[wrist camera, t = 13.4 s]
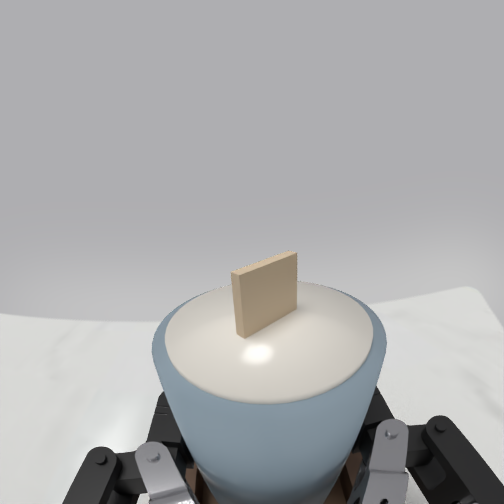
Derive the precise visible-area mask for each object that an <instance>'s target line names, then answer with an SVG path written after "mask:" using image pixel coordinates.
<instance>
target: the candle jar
mask: <svg viewBox="0 0 504 504" xmlns="http://www.w3.org/2000/svg"><path fill="white" fill-rule="evenodd" d="M231 281H232V285H228V286H225V287H221V288H218V289H215V290H212V291H209V292H205V293H203V294H200V295H198V296H196V297H194V298H192V299H190V300H188V301H186V302H184V303H183V304H181V305H180V306H178V307H177V308H176V309H174V310H173V311H172V312H170V313H169V315H167V316H166V317H165V318H164V320H163V321H162V322H161V324H160V325H159V326H158V328H157V330H156V332H155V334H154V338H153V342H152V356H153V361H154V364H155V367H156V370H157V373H158V376H159V379H160V382H161V384H162V387H163V390H164V393H165V395H166V398H167V400H168V403H169V405H170V408H171V410H172V413H173V415H174V418H175V420H176V422H177V425H178V427H179V429H180V432H181V434H182V436H183V438H184V441H185V443H186V445H187V447H188V449H189V451H190V453H191V455H192V457H193V459H194V461H195V463H196V465H197V467H198V469H199V471H200V473H201V475H202V477H203V479H204V480H205V482H206V484H207V486H208V488H209V489H210V491H211V493H212V495H213V496H214V498H215V500H216V501H217V503H218V504H324V502H325V501H326V499H327V497H328V496H329V494H330V492H331V490H332V488H333V487H334V485H335V483H336V481H337V479H338V477H339V475H340V473H341V471H342V469H343V467H344V465H345V463H346V461H347V459H348V457H349V454H350V452H351V450H352V448H353V446H354V443H355V441H356V439H357V436H358V434H359V431H360V429H361V426H362V424H363V421H364V419H365V416H366V413H367V411H368V408H369V405H370V402H371V399H372V396H373V393H374V390H375V387H376V384H377V381H378V378H379V374H380V371H381V368H382V364H383V361H384V357H385V353H386V346H387V341H386V333H385V330H384V327H383V325H382V323H381V321H380V319H379V318H378V317H377V315H376V314H375V313H374V312H373V311H372V310H371V309H370V308H369V307H368V306H367V305H365V304H364V303H363V302H361V301H360V300H358V299H356V298H355V297H353V296H351V295H349V294H346V293H344V292H342V291H339V290H336V289H333V288H330V287H326V286H322V285H318V284H313V283H308V282H301V281H297V253H296V252H292V251H287V252H284V253H281V254H278V255H276V256H273V257H270V258H267V259H265V260H262V261H259V262H257V263H254V264H251V265H249V266H246V267H243V268H240V269H237V270H235V271H232V272H231Z"/></svg>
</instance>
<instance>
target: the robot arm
mask: <svg viewBox="0 0 504 504" xmlns="http://www.w3.org/2000/svg"><path fill="white" fill-rule="evenodd" d="M154 413H155V414H154V416H153V419H152V423H151V427H150V430H149V434H148V438H147V441H146V443H144V444H142V445H141V446H139V447H138V449H137V450H136V451H133V452H126V453H114V452H113V451H112V450H111V449H109V448H107V447H96V448H93V449H92V450H90V451H89V452H88V454H87V456H86V458H85V460H84V461H83V463H82V465H81V467H80V469H79V471H78V473H77V475H76V477H75V479H74V481H73V483H72V485H71V487H70V489H69V491H68V493H67V495H66V497H65V499H64V501H63V503H62V504H137V501H138V498H139V495H140V494H142V493H148V494H149V497H150V500H149V504H200V503H199V501H198V499H197V498H196V496H195V494H194V492H193V491H192V489H191V487H190V485H189V483H188V481H187V480H186V478H185V475H186V468H188V469H194V459H193V457H192V455H191V453H190V451H189V449H188V447H187V445H186V443H185V441H184V438H183V436H182V434H181V432H180V429H179V427H178V425H177V422H176V420H175V418H174V415H173V413H172V410H171V408H170V405H169V403H168V400H167V398H166V395H165V393H164V391H163V392H162V394H161V395H160V396H159V398H158V402H157V407H156V409H155V412H154ZM351 451H352V454H354V453H358V452H360V453H361V455H362V459H361V461H360V465H359V469H358V472H357V476H356V479H355V483H354V486H353V489H352V493H351V495H350V497H349V499H348V501H347V504H404V502H405V497H406V491H407V485H408V477H409V476H408V473H407V472H405V467H407V469H408V471H409V472H410V474H411V475H412V477H413V479H414V480H415V482H416V483H417V485H418V487H419V488H420V490H421V492H422V493H423V495H424V496H425V498H426V500H427V501H428V503H429V504H504V486H503V484H502V483H501V482H500V480H499V479H498V478H497V476H496V475H495V474H494V472H493V471H492V470H491V468H490V467H489V466H488V465H487V463H486V462H485V461H484V460H483V458H482V457H481V456H480V455H479V453H478V452H477V451H476V450H475V448H474V447H473V446H472V445H471V443H470V442H469V441H468V440H467V439H466V437H465V436H464V435H463V434H462V433H461V431H460V430H459V429H458V428H457V427H456V425H455V424H454V423H453V422H452V421H451V420H450V419H449V418H448V417H446V416H440V415H439V416H434V417H432V418H431V419H430V420H429V421H428V422H427V424H424V425H412V426H409V425H406V424H405V423H404V422H402V421H400V420H397V419H395V418H394V417H393V415H392V413H391V411H390V409H389V408H388V406H387V404H386V402H385V400H384V398H383V397H382V395H381V394H380V391H379V389H378V388H377V386H376V387H375V390H374V393H373V396H372V399H371V402H370V405H369V408H368V411H367V413H366V416H365V419H364V421H363V424H362V426H361V429H360V431H359V434H358V436H357V439H356V441H355V443H354V446H353V448H352V450H351Z"/></svg>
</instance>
